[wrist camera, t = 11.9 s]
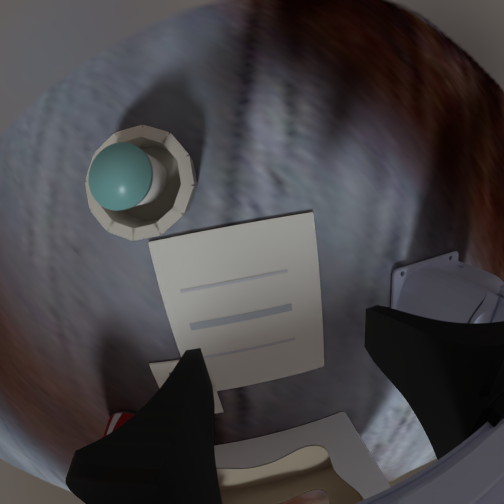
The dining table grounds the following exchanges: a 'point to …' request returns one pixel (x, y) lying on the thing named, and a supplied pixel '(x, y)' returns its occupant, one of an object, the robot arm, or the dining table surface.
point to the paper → (245, 298)
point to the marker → (126, 177)
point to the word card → (164, 370)
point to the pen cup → (172, 200)
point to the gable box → (299, 465)
